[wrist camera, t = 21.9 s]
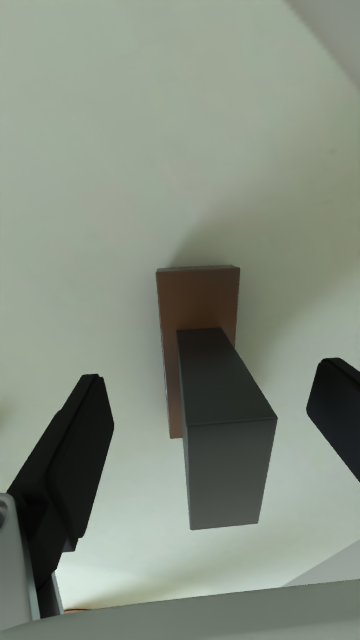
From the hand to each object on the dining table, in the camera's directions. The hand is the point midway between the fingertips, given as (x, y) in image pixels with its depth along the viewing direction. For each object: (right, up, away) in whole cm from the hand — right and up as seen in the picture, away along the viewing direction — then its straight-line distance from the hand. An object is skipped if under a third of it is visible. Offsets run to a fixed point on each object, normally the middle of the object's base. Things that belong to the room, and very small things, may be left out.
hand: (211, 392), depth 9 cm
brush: (0, +1, +4) cm, 4 cm away
